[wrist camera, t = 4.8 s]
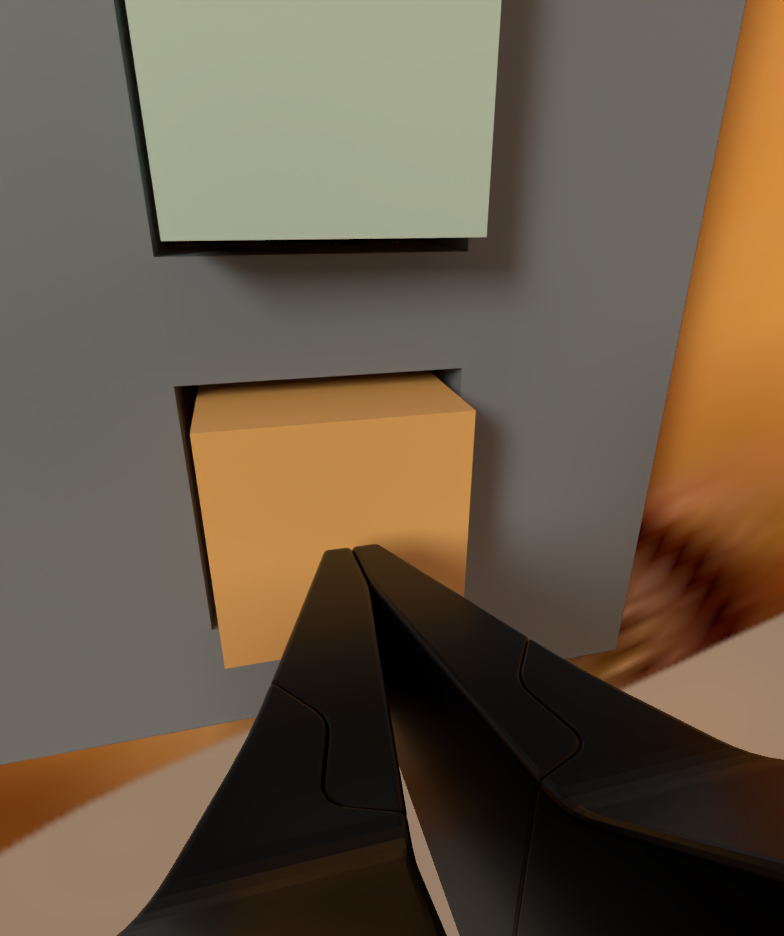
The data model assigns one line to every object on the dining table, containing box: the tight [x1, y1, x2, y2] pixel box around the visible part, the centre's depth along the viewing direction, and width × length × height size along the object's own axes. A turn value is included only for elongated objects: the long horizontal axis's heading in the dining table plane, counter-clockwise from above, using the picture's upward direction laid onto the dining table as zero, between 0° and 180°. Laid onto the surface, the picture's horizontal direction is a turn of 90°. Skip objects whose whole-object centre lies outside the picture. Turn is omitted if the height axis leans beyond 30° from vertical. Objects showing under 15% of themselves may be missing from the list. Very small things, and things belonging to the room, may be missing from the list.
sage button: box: [125, 0, 501, 241], centre depth 8 cm, size 4×4×3 cm
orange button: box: [190, 370, 476, 669], centre depth 11 cm, size 4×4×3 cm
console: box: [0, 0, 746, 765], centre depth 10 cm, size 14×24×3 cm, turn 0°
